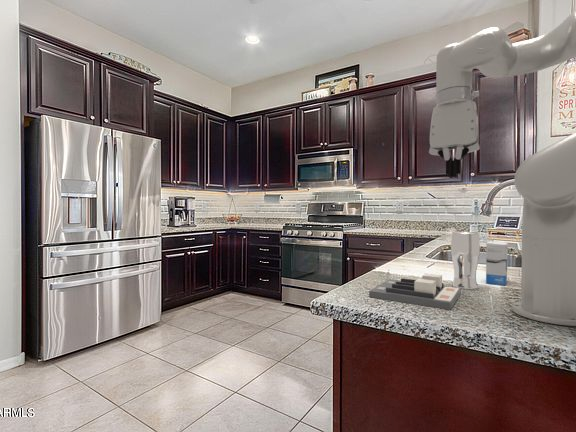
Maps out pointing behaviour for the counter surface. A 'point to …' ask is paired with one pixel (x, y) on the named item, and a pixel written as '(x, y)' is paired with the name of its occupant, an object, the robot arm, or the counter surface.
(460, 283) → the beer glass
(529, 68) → the robot arm
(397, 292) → the switch panel
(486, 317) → the counter surface
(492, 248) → the ink box
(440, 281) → the tab
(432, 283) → the tab
